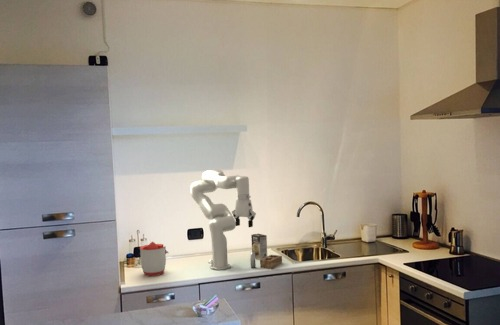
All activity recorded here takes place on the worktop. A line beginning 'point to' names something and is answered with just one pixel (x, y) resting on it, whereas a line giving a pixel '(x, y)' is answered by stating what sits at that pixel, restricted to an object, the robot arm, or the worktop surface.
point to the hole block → (271, 261)
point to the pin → (252, 259)
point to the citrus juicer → (153, 259)
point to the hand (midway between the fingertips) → (244, 226)
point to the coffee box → (259, 245)
